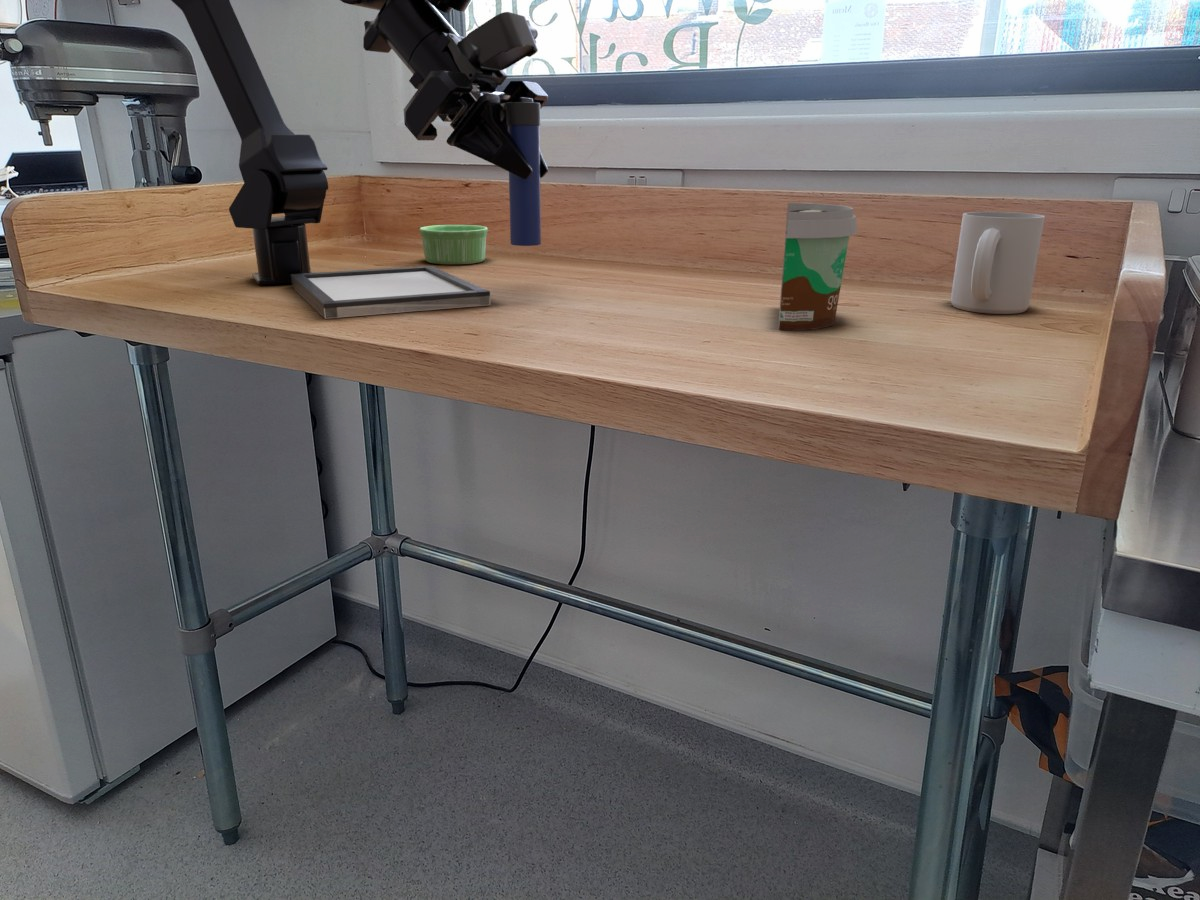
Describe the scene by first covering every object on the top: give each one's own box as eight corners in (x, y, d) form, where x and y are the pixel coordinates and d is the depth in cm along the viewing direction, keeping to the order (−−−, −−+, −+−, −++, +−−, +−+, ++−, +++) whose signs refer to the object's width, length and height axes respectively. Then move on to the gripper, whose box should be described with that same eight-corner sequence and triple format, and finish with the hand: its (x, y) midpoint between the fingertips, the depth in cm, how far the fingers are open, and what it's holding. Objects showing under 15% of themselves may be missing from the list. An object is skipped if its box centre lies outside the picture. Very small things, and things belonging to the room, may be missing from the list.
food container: (853, 336, 72) (866, 213, 69) (778, 333, 73) (788, 212, 70) (843, 309, 83) (854, 203, 80) (779, 307, 85) (787, 202, 81)
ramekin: (412, 264, 112) (409, 230, 110) (433, 256, 120) (432, 224, 119) (478, 266, 111) (477, 231, 109) (496, 257, 119) (494, 225, 118)
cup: (1035, 306, 86) (1051, 214, 83) (1013, 322, 78) (1031, 221, 75) (960, 298, 90) (973, 210, 87) (933, 313, 82) (946, 217, 79)
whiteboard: (292, 286, 95) (290, 274, 94) (432, 277, 102) (431, 265, 101) (325, 318, 78) (323, 303, 77) (490, 305, 85) (490, 291, 84)
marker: (504, 243, 85) (501, 102, 81) (534, 241, 87) (532, 103, 82) (516, 246, 83) (513, 101, 78) (547, 245, 84) (545, 102, 80)
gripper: (424, -38, 70) (546, 107, 70) (529, -4, 86) (629, 114, 86) (354, 69, 76) (467, 203, 75) (465, 82, 92) (558, 192, 91)
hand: (537, 175), depth 82 cm, fingers closed on marker, 3 cm apart
